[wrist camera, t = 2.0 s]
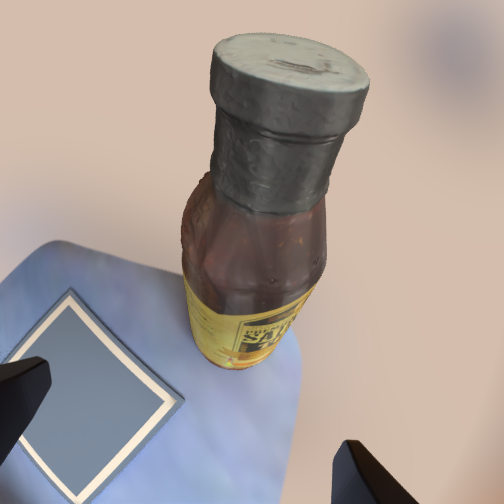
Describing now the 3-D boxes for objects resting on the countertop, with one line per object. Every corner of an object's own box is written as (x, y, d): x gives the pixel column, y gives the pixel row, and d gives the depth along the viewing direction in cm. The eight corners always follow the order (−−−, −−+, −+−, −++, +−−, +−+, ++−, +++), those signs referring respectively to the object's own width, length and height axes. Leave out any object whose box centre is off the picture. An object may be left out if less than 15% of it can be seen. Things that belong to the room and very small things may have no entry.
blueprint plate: (185, 401, 20) (185, 400, 19) (81, 512, 14) (79, 513, 13) (72, 290, 23) (70, 288, 23) (-15, 389, 17) (-18, 388, 16)
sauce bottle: (242, 390, 21) (356, 197, 4) (176, 336, 22) (91, 68, 5) (294, 323, 24) (432, 82, 7) (230, 277, 25) (260, 12, 9)
